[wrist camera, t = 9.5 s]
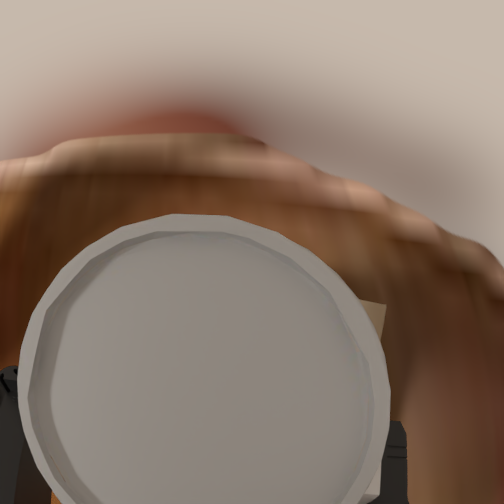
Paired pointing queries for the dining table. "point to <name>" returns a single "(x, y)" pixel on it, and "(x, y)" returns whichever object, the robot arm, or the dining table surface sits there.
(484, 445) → the dining table surface
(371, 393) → the disposable coffee cup
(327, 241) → the dining table surface
